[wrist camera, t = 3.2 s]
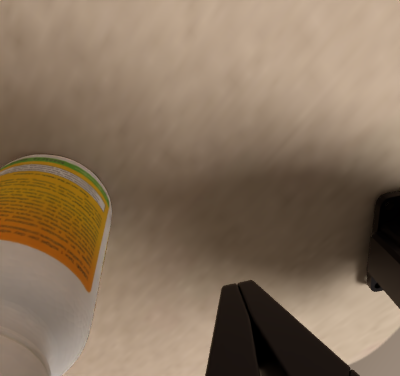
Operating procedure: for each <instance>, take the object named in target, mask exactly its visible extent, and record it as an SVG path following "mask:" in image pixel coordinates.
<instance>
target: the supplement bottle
mask: <svg viewBox="0 0 400 376" xmlns="http://www.w3.org/2000/svg"><path fill="white" fill-rule="evenodd" d="M111 219H112V206H111V201H110V197H109V195H108V192H107V190H106V189H105V187H104V185H103V184H102V182H101V181H100V180H99V179H98V178H97V177H96V175H94V174H93V173H92V172H91V171H90V170H89V169H87V168H86V167H85V166H83V165H81V164H80V163H78V162H76V161H73V160H71V159H68V158H65V157H61V156H56V155H48V154H35V155H29V156H25V157H21V158H18V159H16V160H14V161H11V162H9V163H8V164H6V165H5V166H3V167H2V168H1V169H0V376H62V375H63V374H64V373H65V372H66V371H67V370H68V369H70V368H71V366H72V365H73V364H74V363H75V361H76V360H77V359H78V357H79V356H80V354H81V352H82V351H83V349H84V347H85V344H86V342H87V339H88V336H89V332H90V328H91V325H92V320H93V315H94V311H95V305H96V300H97V294H98V289H99V284H100V279H101V274H102V268H103V263H104V258H105V253H106V248H107V243H108V238H109V233H110V227H111Z"/></svg>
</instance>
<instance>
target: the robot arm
mask: <svg viewBox="0 0 400 376" xmlns="http://www.w3.org/2000/svg"><path fill="white" fill-rule="evenodd" d="M387 202H389V203H388V204H387V205H386V203H387ZM385 205H386V206H385ZM367 271H368V274H367V285H368V286H369V288H370V289H371V290H372V291H374V292H377V291H382V290H384V291H385V292H386V293H387V295H388V296H389V297H390V298H391V299H392V300H393V301H394V303H395V304H396V305H397V306H398V307H399V308H400V191H397V192H392V193H387V194H383V195H381V196H380V197H379V198H378V199H377V201H376V204H375V213H374V221H373V230H372V236H371V240H370V248H369V257H368V266H367ZM205 376H359V375H358V374H357V373H356V372H355V371H354V370H350V367H349V366H348V365H347V364H346V363H345V362H344V361H343V360H341V359H340V358H339V357H338V356H337V355H336V354H335V353H334V352H332V351H331V350H330V349H329V348H328V347H327V346H326V345H325V344H323V343H322V342H321V341H320V340H319V339H318V338H317V337H316V336H315V335H313V334H312V333H311V332H310V331H309V330H308V329H307V328H306V327H304V326H303V325H302V324H301V323H300V322H299V321H298V320H297V319H295V318H294V317H293V316H292V315H291V314H290V313H289V312H288V311H286V310H285V309H284V308H283V307H282V306H281V305H280V304H279V303H278V302H276V301H275V300H274V299H273V298H272V297H271V296H270V295H269V294H267V293H266V292H265V291H264V290H263V289H262V288H261V287H260V286H258V285H257V284H256V283H255V282H254V281H252V280H248V281H244V282H239V283H238V285H237V284H236V283H234V284H229V285H224V286H223V287H222V289H221V295H220V300H219V305H218V311H217V316H216V321H215V327H214V332H213V337H212V343H211V348H210V353H209V358H208V364H207V369H206V374H205Z"/></svg>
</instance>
